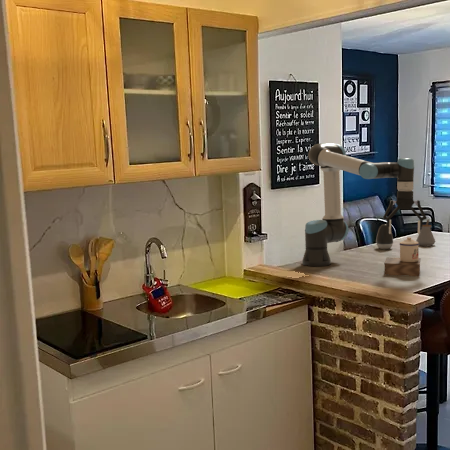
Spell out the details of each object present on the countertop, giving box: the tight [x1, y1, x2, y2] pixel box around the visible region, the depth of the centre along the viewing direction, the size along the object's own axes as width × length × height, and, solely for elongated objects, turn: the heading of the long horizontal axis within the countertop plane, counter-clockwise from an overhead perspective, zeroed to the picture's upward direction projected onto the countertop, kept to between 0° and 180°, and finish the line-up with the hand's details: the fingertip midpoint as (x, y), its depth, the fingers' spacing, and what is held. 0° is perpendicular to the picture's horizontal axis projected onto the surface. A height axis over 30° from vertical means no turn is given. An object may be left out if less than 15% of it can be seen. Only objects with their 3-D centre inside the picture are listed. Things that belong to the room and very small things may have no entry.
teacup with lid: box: [399, 236, 420, 262], centre depth 288 cm, size 12×9×12 cm
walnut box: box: [383, 256, 421, 277], centre depth 289 cm, size 16×16×6 cm
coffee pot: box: [415, 218, 436, 247], centre depth 373 cm, size 21×12×15 cm, turn 156°
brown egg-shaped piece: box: [375, 223, 394, 250], centre depth 361 cm, size 10×10×15 cm
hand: (404, 233), depth 287 cm, fingers open, 13 cm apart
